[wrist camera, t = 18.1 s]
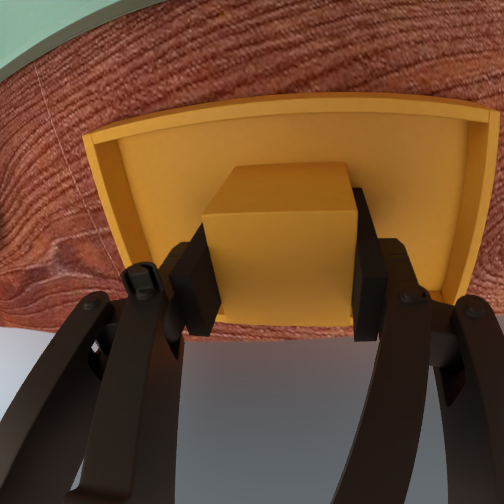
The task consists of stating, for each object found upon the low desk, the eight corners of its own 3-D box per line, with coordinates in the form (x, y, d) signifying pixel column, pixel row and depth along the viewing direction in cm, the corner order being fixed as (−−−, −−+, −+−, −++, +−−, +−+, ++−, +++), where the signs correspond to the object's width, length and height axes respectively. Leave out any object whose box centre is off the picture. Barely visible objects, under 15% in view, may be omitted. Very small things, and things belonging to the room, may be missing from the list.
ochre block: (344, 161, 13) (358, 211, 9) (344, 255, 16) (349, 327, 12) (234, 165, 14) (199, 214, 10) (248, 256, 17) (226, 323, 13)
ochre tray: (474, 101, 11) (501, 111, 8) (444, 291, 17) (455, 321, 14) (110, 122, 15) (81, 136, 12) (161, 289, 21) (145, 316, 18)
